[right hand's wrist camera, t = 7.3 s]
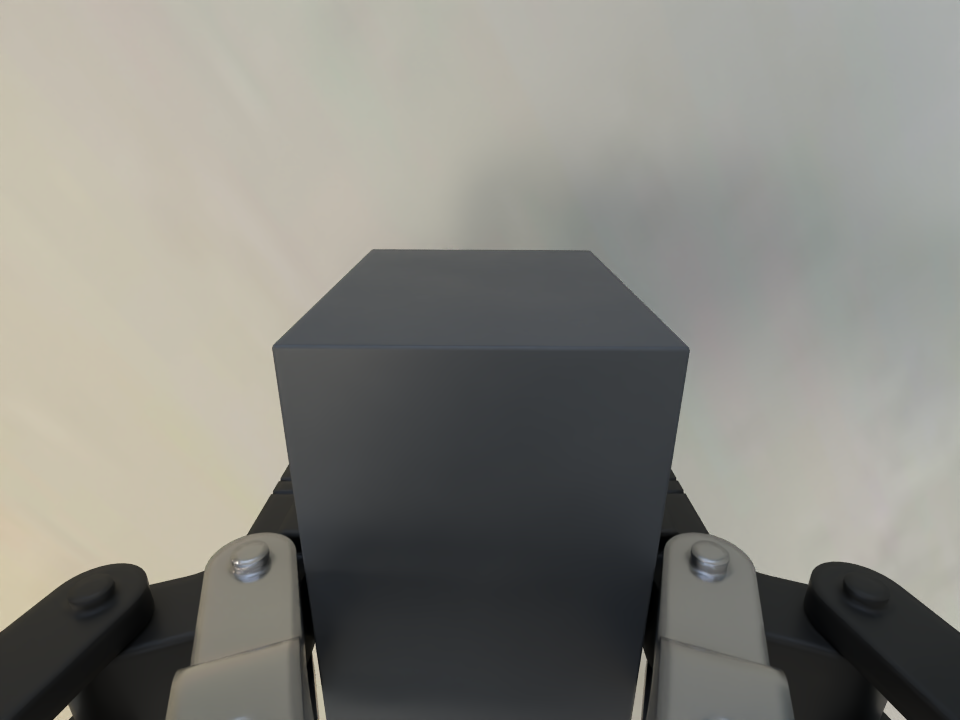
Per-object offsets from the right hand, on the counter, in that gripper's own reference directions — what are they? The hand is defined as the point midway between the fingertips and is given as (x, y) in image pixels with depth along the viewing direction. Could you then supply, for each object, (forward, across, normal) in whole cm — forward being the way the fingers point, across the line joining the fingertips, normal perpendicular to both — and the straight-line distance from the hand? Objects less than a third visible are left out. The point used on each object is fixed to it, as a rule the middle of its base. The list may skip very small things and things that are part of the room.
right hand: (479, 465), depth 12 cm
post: (+2, 0, -33) cm, 33 cm away
